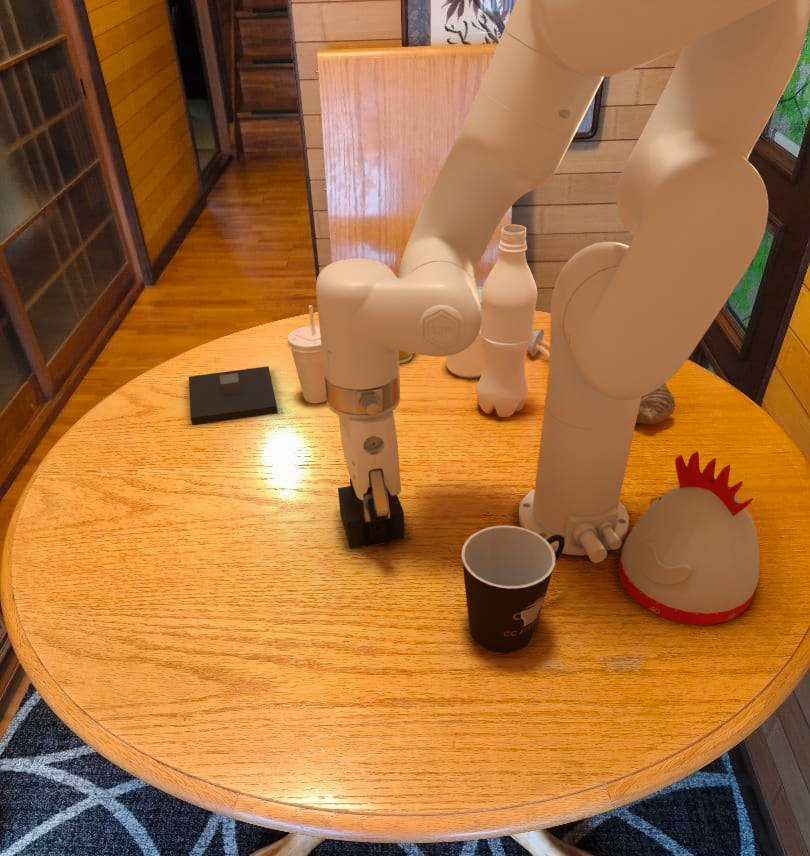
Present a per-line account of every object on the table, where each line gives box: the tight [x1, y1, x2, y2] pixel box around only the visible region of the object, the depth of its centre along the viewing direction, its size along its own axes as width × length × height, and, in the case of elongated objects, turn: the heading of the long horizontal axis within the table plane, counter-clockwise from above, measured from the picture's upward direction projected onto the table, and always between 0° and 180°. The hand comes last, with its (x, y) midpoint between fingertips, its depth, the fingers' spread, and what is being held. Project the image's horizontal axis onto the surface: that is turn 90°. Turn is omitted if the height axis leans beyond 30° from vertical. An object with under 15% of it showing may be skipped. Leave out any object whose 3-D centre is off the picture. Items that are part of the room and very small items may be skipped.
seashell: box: [635, 382, 676, 425], centre depth 104 cm, size 9×7×8 cm
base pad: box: [188, 365, 279, 426], centre depth 111 cm, size 12×12×3 cm
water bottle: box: [475, 224, 538, 418], centre depth 100 cm, size 7×7×25 cm
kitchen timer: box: [617, 450, 760, 626], centre depth 77 cm, size 14×14×15 cm
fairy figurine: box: [527, 329, 550, 361], centre depth 119 cm, size 12×5×12 cm
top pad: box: [337, 485, 405, 549], centre depth 88 cm, size 6×6×4 cm
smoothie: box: [286, 304, 327, 404], centre depth 107 cm, size 6×6×14 cm
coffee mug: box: [461, 525, 565, 654], centre depth 74 cm, size 12×9×10 cm
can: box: [446, 285, 483, 379], centre depth 113 cm, size 7×7×12 cm
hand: (371, 522), depth 89 cm, fingers closed on top pad, 6 cm apart
